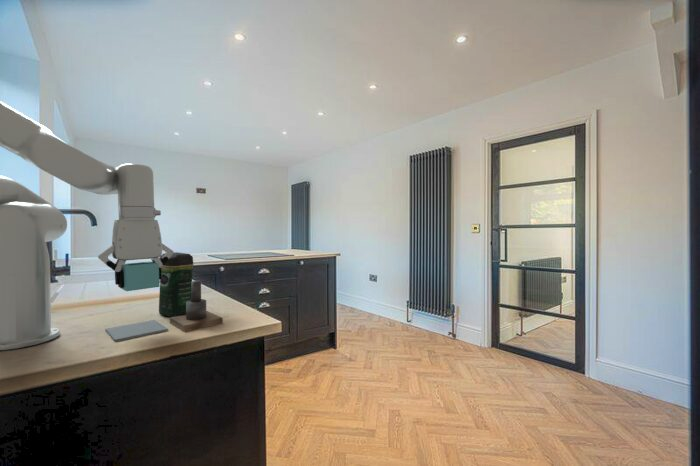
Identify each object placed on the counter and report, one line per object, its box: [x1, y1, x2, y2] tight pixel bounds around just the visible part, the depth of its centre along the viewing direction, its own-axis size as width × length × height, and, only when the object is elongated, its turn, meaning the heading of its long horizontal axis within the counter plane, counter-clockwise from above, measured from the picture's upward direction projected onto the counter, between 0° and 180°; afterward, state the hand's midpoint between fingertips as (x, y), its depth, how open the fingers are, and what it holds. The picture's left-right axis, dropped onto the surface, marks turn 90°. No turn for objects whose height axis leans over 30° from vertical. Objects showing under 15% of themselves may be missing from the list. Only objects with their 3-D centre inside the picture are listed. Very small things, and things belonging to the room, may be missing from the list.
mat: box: [104, 319, 169, 343], centre depth 81 cm, size 11×11×1 cm
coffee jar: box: [158, 251, 195, 318], centre depth 96 cm, size 10×8×19 cm
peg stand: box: [169, 280, 223, 332], centre depth 87 cm, size 10×10×12 cm
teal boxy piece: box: [120, 260, 160, 292], centre depth 81 cm, size 7×7×6 cm
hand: (139, 284), depth 81 cm, fingers closed on teal boxy piece, 7 cm apart
